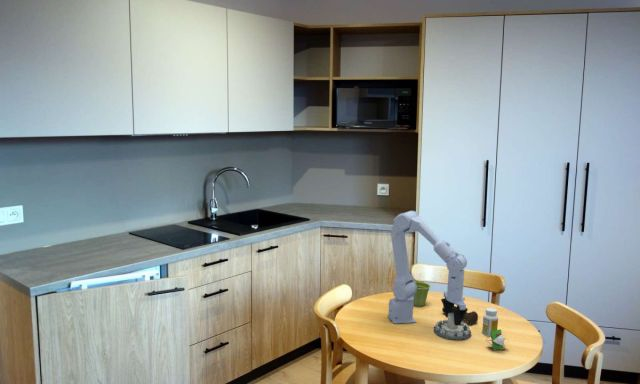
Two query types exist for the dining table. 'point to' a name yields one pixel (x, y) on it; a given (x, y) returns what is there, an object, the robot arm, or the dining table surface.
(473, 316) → the bolt
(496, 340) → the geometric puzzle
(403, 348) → the dining table surface
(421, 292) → the plant pot
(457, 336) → the carrier
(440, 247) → the robot arm
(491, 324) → the supplement bottle
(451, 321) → the planet gear
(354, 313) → the dining table surface
